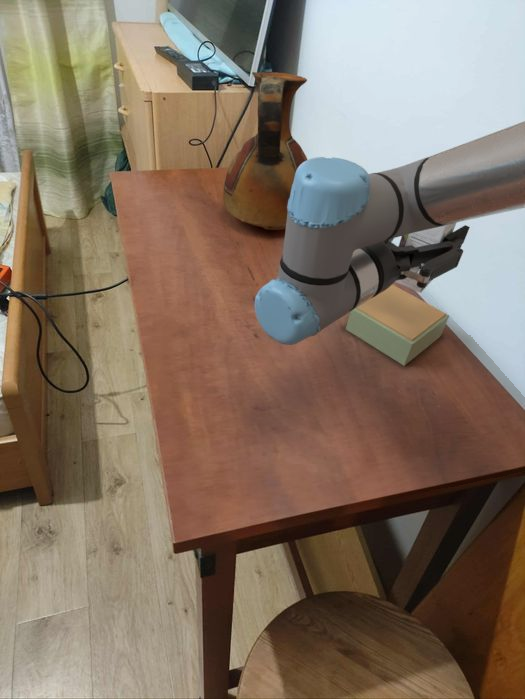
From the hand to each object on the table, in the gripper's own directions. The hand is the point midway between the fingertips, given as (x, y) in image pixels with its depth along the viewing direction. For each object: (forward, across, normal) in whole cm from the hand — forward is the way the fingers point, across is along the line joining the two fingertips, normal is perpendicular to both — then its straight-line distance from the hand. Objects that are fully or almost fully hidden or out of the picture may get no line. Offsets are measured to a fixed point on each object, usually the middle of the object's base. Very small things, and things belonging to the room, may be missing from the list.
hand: (443, 225), depth 78 cm
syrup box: (-5, 0, -8) cm, 10 cm away
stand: (-4, 0, -19) cm, 20 cm away
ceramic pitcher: (+8, -43, -20) cm, 48 cm away
